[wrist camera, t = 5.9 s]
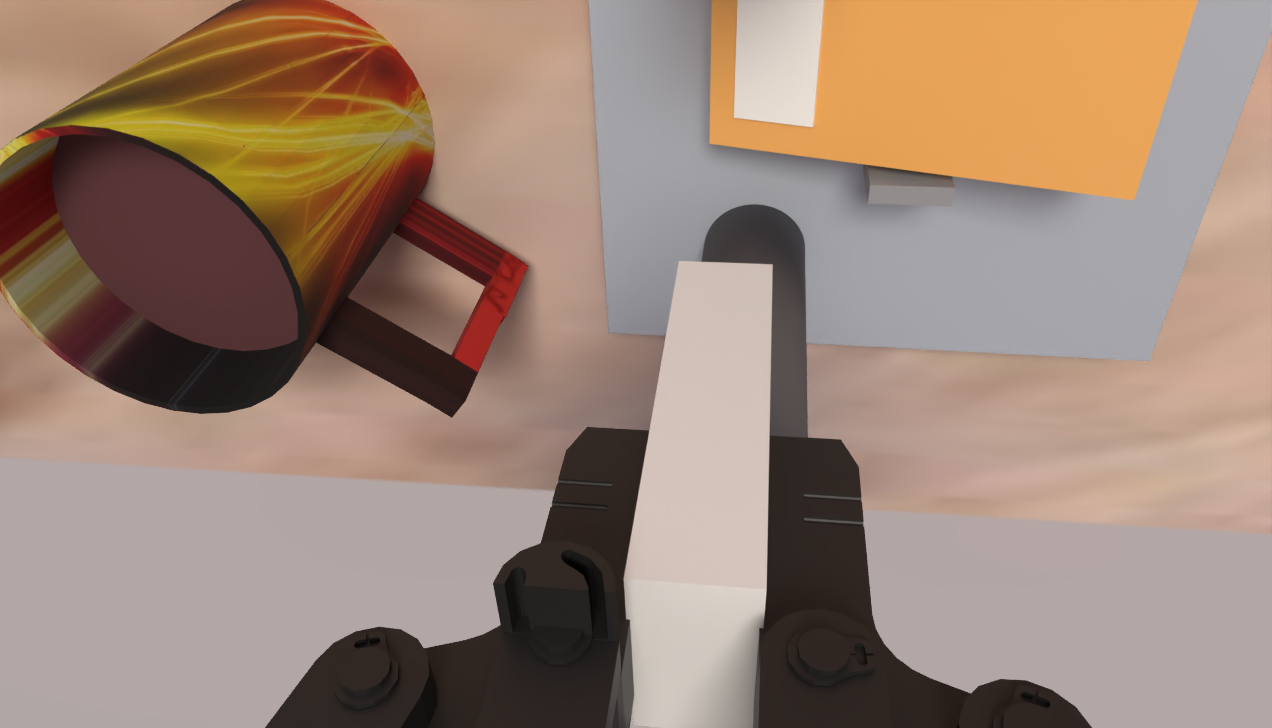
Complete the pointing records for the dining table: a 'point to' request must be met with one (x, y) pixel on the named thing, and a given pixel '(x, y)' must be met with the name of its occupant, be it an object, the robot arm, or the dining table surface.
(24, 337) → the dining table surface
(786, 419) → the cylinder
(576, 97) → the dining table surface
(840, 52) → the paddle
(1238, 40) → the panel
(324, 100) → the mug
